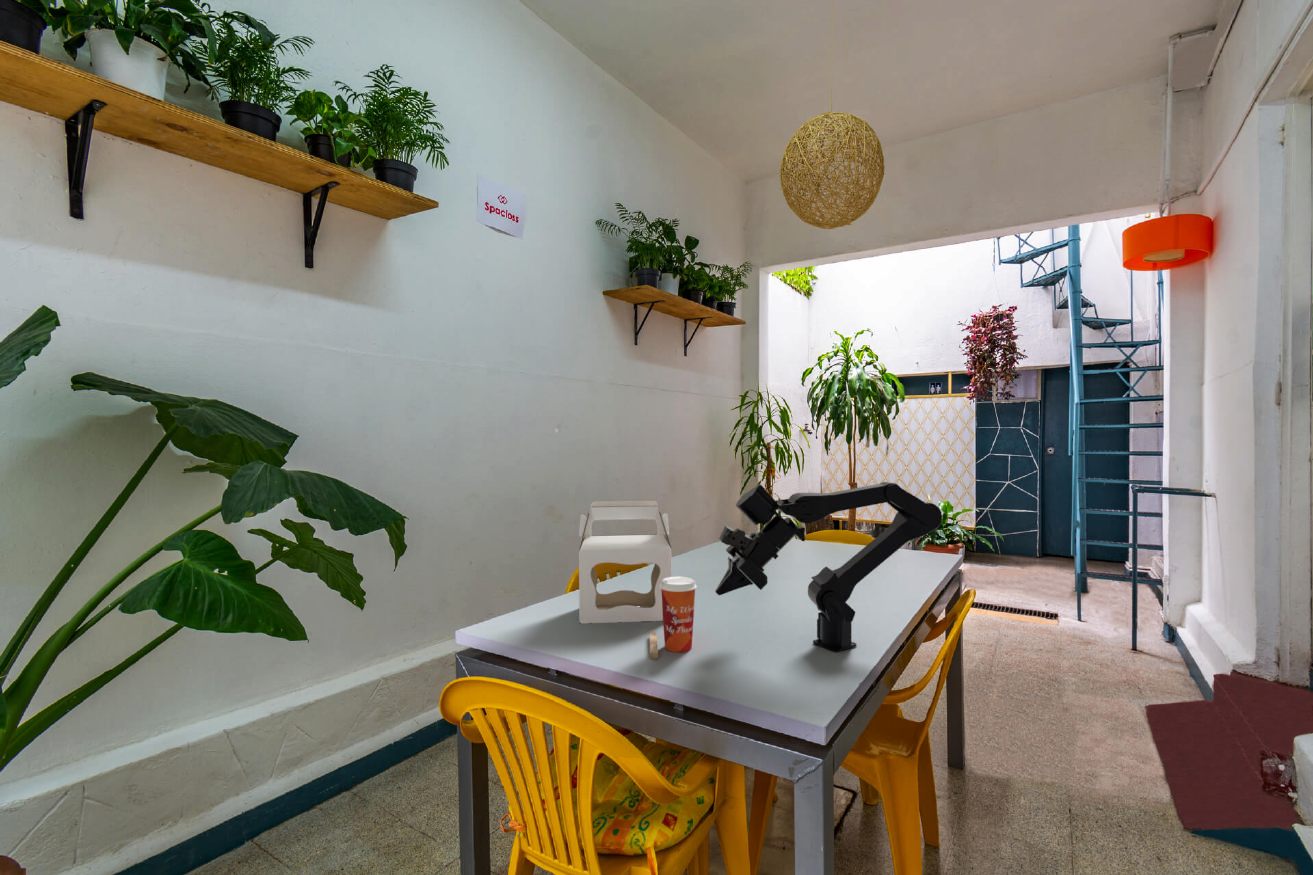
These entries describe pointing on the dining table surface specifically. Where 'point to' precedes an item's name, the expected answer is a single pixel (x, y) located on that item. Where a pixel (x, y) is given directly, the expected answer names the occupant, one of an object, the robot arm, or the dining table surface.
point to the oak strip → (653, 645)
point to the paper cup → (678, 612)
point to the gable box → (623, 552)
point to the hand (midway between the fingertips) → (717, 593)
